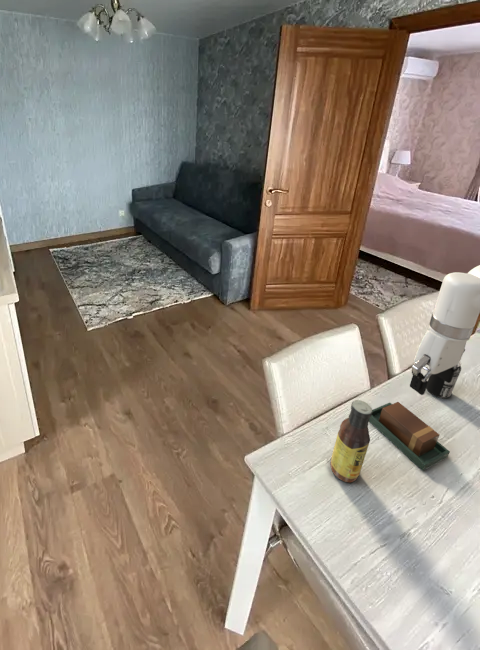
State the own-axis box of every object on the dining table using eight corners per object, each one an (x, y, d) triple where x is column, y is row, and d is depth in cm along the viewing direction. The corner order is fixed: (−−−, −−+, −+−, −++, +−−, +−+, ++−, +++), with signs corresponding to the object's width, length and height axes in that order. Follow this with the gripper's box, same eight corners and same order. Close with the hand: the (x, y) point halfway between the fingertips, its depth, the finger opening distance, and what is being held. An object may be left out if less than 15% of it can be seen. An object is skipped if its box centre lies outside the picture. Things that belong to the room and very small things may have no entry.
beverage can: (424, 379, 109) (435, 349, 104) (449, 389, 105) (462, 357, 101) (423, 392, 104) (435, 361, 99) (450, 403, 100) (463, 370, 96)
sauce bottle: (353, 490, 77) (373, 426, 70) (325, 471, 81) (341, 409, 74) (362, 469, 82) (382, 407, 74) (335, 452, 86) (351, 391, 78)
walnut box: (378, 422, 94) (382, 408, 92) (393, 415, 96) (398, 401, 94) (417, 457, 84) (423, 442, 82) (434, 448, 86) (440, 434, 84)
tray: (447, 457, 85) (450, 451, 84) (422, 470, 82) (425, 465, 81) (388, 407, 99) (390, 402, 98) (364, 417, 95) (366, 412, 95)
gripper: (456, 309, 84) (437, 365, 90) (408, 325, 78) (391, 384, 84) (493, 326, 77) (469, 384, 84) (442, 345, 71) (421, 407, 78)
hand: (430, 384), depth 84 cm, fingers open, 9 cm apart
